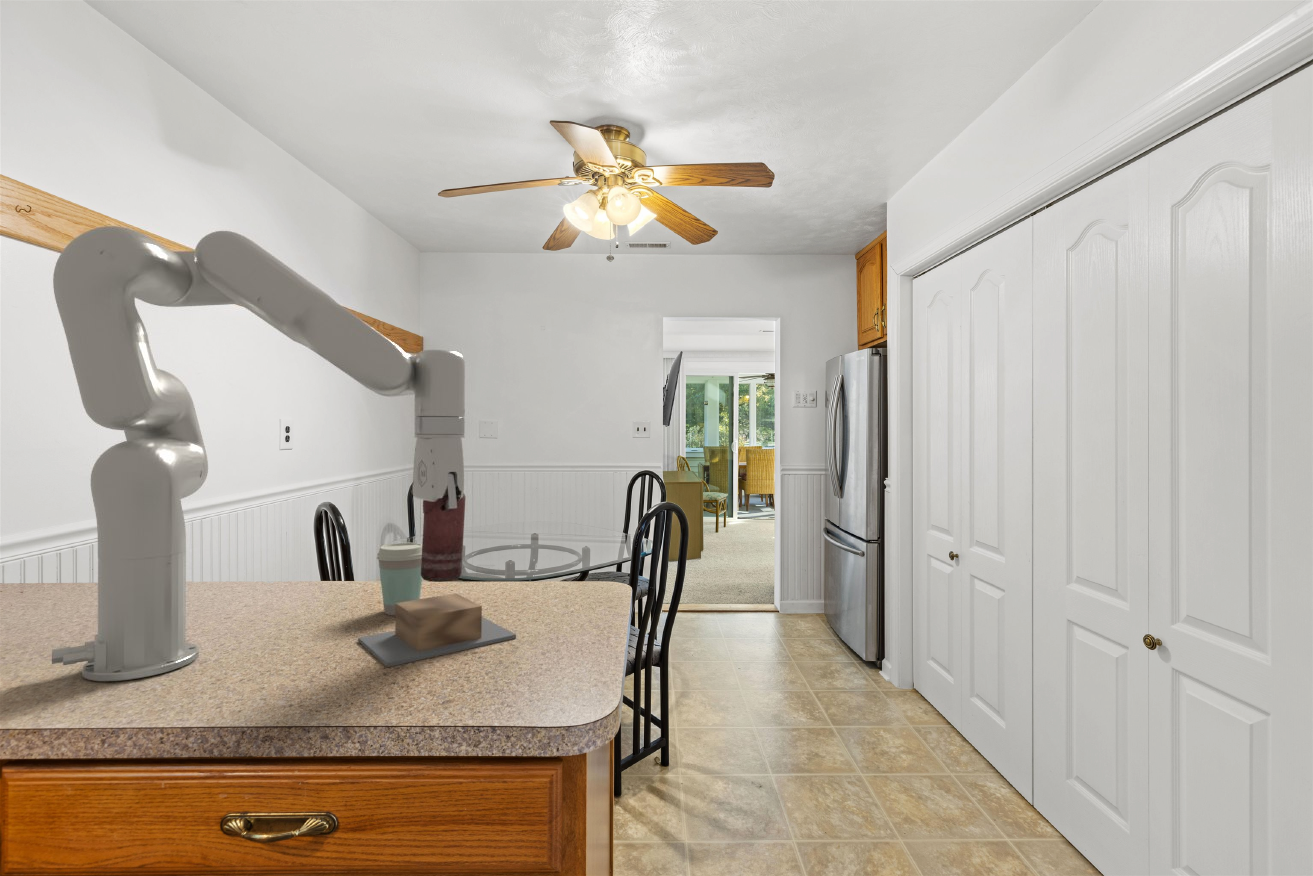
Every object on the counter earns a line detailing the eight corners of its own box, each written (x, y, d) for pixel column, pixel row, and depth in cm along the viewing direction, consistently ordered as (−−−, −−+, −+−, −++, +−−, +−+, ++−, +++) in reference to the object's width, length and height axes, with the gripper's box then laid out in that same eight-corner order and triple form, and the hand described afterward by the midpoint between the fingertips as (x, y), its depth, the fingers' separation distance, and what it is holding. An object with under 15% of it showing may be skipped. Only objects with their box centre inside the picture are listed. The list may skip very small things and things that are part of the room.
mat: (387, 667, 88) (387, 662, 88) (358, 641, 99) (358, 637, 98) (516, 638, 101) (516, 634, 101) (478, 618, 112) (478, 614, 112)
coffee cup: (434, 605, 119) (434, 542, 119) (412, 618, 111) (412, 550, 111) (391, 603, 120) (391, 541, 120) (366, 616, 112) (367, 549, 112)
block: (417, 651, 93) (418, 617, 93) (395, 634, 100) (395, 603, 100) (481, 637, 99) (481, 606, 99) (455, 622, 107) (455, 593, 107)
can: (417, 575, 101) (422, 488, 101) (458, 573, 104) (462, 488, 104) (420, 582, 95) (425, 490, 96) (463, 581, 98) (468, 491, 98)
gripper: (399, 428, 103) (399, 540, 103) (434, 428, 91) (434, 554, 92) (444, 429, 108) (444, 535, 108) (482, 428, 96) (482, 548, 96)
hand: (439, 543), depth 100 cm, fingers closed
